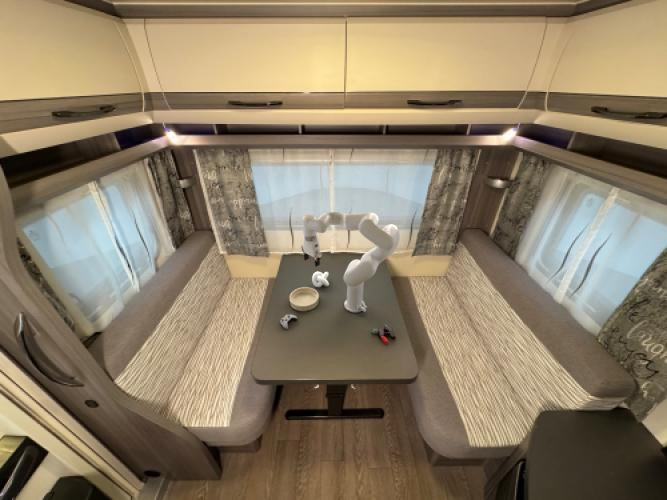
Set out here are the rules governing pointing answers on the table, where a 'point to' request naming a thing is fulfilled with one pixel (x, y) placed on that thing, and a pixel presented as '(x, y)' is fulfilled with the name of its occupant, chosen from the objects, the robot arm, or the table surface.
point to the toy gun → (384, 333)
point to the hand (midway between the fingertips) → (311, 262)
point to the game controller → (287, 320)
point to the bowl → (304, 299)
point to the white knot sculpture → (320, 279)
